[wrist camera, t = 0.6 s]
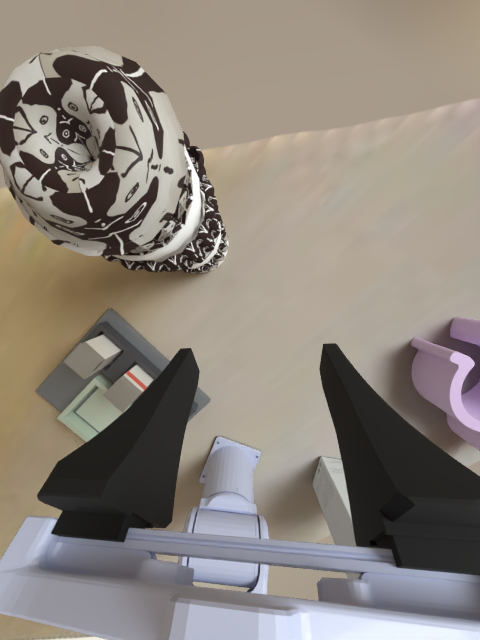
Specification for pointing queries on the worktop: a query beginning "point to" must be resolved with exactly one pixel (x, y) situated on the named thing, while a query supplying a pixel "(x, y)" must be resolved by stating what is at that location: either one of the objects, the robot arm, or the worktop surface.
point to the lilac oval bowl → (450, 379)
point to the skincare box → (335, 502)
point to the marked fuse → (128, 387)
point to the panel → (104, 379)
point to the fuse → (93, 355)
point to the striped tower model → (107, 163)
